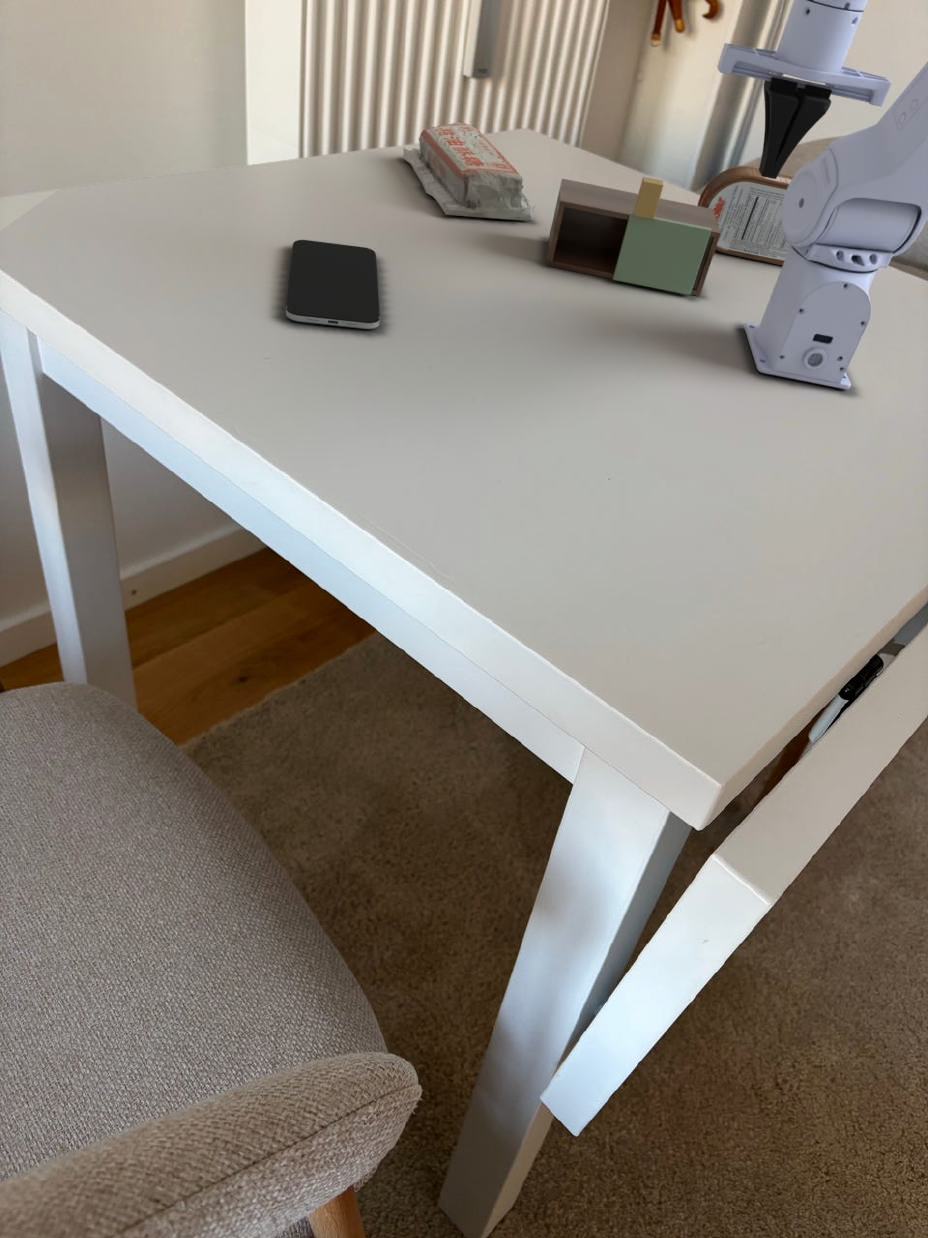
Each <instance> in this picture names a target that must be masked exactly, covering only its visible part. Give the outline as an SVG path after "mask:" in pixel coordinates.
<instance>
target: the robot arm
mask: <svg viewBox="0 0 928 1238" xmlns="http://www.w3.org/2000/svg"><path fill="white" fill-rule="evenodd" d="M868 1H869V0H793V1H792V5H791V7H790V10H789V13H788V16H787V18H786V21H785V25H784V28H783V31H782V34H781V37H780V40H779V42H778V45H777V48H776V50H771V49H765V48H764V49H763V48H758V47H751V46H746V45H745V46H744V45H738V44H733V43H728V42H725V43H724V44H723V47H722V50H721V53H720V57H719V60H718V63H717V66H716V67H717V70H718V72H719V73H721V74H726V75H733V74H734V75H738V76H743V77H747V78H752V79H757V80H761V81H764V82H763V97H764V134H763V144H762V153H761V159H760V163H759V167H758V168H759V172H760V174H761V176H763V177H768V178H772V179H776V178H777V176H778V174H779V173H781V170H782V168H783V167H784V165H785V164H786V162H787V161H788V159H789V157H790V156H791V155H792V152H794V150H795V149H796V147H797V146H798V145H799V144H800V142H801V141H802V140H803V138H805V136H806V135H807V134H808V133H809V131H810V130H811V129H812V128H813V127H814V126H816V124H817V123H818V122H819V120H821V119H822V118H823V117H824V116H825V115H826V113H828V111H829V109H830V107H831V105H832V100H831V99H830V98H831V96H835V97H840V98H841V97H842V98H846V99H851V100H855V101H860V102H864V103H868V104H869V105H871V106H875V107H880V108H882V107H883V106H884V103H885V101H886V98H887V95H888V93H889V91H890V89H891V87H892V84H893V82H892V81H891V80H890V79H888V77H887V76H881V75H878V74H873V73H869V72H866V71H862V70H858V69H854V68H851V67H849V66H848V67H847V66H844V63H845V61H846V58H847V55H848V53H849V50H850V48H851V46H852V44H853V40H854V38H855V35H856V33H857V30H858V27H859V25H860V22H861V20H862V17H863V14H864V11H865V10H866V6H867V4H868ZM784 75H786V76H784ZM789 76H790V77H789ZM793 176H794V177H793V179H792V180H791V182H790V184H789V186H788V188H787V190H786V193H785V196H784V200H783V204H782V212H781V221H782V227H783V231H784V234H785V240H786V241H787V242H788V243H789V244H790V245H791V246H790V248H789V251H788V253H787V256H786V258H785V261H784V264H783V265H781V266H782V267H781V269H780V272H779V274H778V277H777V279H776V281H775V284H774V287H773V289H772V292H771V294H770V297H769V300H768V301H767V302H768V303H767V304H766V308H765V310H764V312H763V315H762V317H761V320H760V323H756V322H749V321H747V322H745V324H744V327H743V328H744V331H745V334H746V338H747V340H748V344H749V347H750V351H751V353H752V357H753V360H754V364H755V365H756V366H755V367H756V369H757V371H758V372H760V373H762V374H766V375H770V376H771V375H772V376H776V377H780V378H781V377H782V378H786V379H791V380H792V379H793V380H796V381H802V382H807V383H811V384H817V385H822V386H828V387H831V388H832V387H833V388H836V389H837V388H838V389H841V390H849V389H851V386H852V383H851V381H850V378H849V376H848V374H847V370H848V367H849V365H850V364H851V361H852V359H853V357H854V356H855V353H856V351H857V349H858V347H859V344H860V342H861V340H862V338H863V336H864V334H865V331H866V329H867V327H868V325H869V322H870V320H871V316H872V302H871V298H870V297H871V296H870V288H871V285H872V283H873V281H874V279H875V277H876V275H877V272H878V270H879V269H887V268H888V267H889V266H890V265H889V264H890V263H891V261H892V258H893V257H896V256H900V255H901V254H903V253H905V252H906V251H907V250H908V249H910V247H911V246H912V245H913V244H914V242H916V240H917V238H918V237H919V236H920V234H921V232H922V230H923V228H924V226H925V223H926V222H927V220H928V61H927V62H925V64H924V66H922V68H921V69H920V70H919V71H918V72H917V74H916V75H915V76H914V78H913V79H911V81H910V82H909V83H908V85H907V86H906V87H905V88H904V89H903V91H902V92H901V93H900V95H899V96H898V97H897V98H896V99H895V101H894V102H893V103H892V104H891V106H890V107H889V108H888V109H887V110H886V112H885V113H884V114H883V115H882V117H881V118H880V119H879V120H878V122H877V123H875V124H873V125H870V126H868V127H866V128H863V129H860V130H858V131H855V132H852V133H848V134H847V135H843V136H841V137H839V138H836V139H834V140H832V141H830V142H829V143H828V145H827V146H826V147H825V149H824V150H823V151H822V152H821V153H820V154H819V155H818V156H817V157H814V158H813V159H811V160H808V161H807V162H806V163H804V164H803V165H802V166H801V167H800V168H799V170H798V171H797V172H796V173H795V174H794V175H793Z"/></svg>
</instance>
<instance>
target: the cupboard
mask: <svg viewBox="0 0 928 1238" xmlns="http://www.w3.org/2000/svg"><path fill="white" fill-rule="evenodd" d="M637 197H638V193H635V192H632V191H631V192H630V191H625V190H621V189H616V188H612V187H605V186H601V185H597V184H591V183H587V182H582V181H577V180H571V179H568V178H561V180H560V186H559V189H558V195H557V199H556V203H555V208H554V213H553V217H552V222H551V227H550V230H549V236H548V242H547V250H546V251H547V252H546V263H545V266H547V267H551V268H557V269H562V270H566V271H572V272H576V273H581V274H586V275H590V276H596V277H601V278H607V279H610V280H613V275H614V271H615V268H616V264H617V260H618V257H619V253H620V249H621V245H622V242H623V238H624V234H625V231H626V227H627V223H628V219H629V216H630V213H631V212H633V213H634V208H635V204H636V200H637ZM655 217H657V218H662V219H667V220H672V221H677V222H682V223H687V224H692V225H697V226H702V227H707V228H711V234H710V237H709V240H708V243H707V246H706V249H705V252H704V255H703V258H702V261H701V264H700V267H699V270H698V273H697V276H696V279H695V282H694V285H693V288H692V291H691V294H690V296H696V297H700V296H701V293H702V290H703V288H704V285H705V282H706V278H707V276H708V273H709V270H710V267H711V264H712V261H713V258H714V255H715V253H716V246H717V243H718V240H719V237H720V234H721V233H720V230H719V226H718V223H717V220H716V217H715V214H714V211H713V209H710V208H705V207H700V206H698V205H694V204H690V203H684V202H680V201H676V200H675V201H674V200H670V199H665V198H661V197H660V199H659V203H658V206H657V210H656V213H655Z"/></svg>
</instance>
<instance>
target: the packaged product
mask: <svg viewBox="0 0 928 1238" xmlns="http://www.w3.org/2000/svg"><path fill="white" fill-rule="evenodd" d="M418 141H419V148H416V147H413V148H412V149H411V150H409V149H406V148H405V147H403V148H402V151H403V152H402V153H403V160H405V161H406V162H407V163H409V165H410V166H411V167H412V169H413V171H414V173H415V174H416V176H417V177H418V179H419V180H420V182H421V184H422V187H423V189H424V191H425V194H428V195H429V196H432V198H434V200H435V201H436V202H437V203H438V205H439V206H440V208H441V210H442V211H443V212H444V214H445V215H446V216H460V217H473V218H484V219H485V218H487V219H499V220H513V221H526V222H527V221H529V222H532V221H533V218H534V214H535V213H534V212H535V209H536V206H535V205H533V204H532V202H531V201H530V200H529V199H528V198H527V196H526V195H524V193H523V191H522V190H523V189H524V186H523V175H521V174H520V173H519V172H518V170H517V169H516V168H515V167H514V166H513V165H512V164H511V162H509V160H508V159H506V158H505V156H504V155H503V154H502V153H501V152H500V151H499V150H498V149H497V148H496V146H494V144H492V142H491V141H489V139H487V138H486V137H485V135H484V134H483V133H482V132H481V131H480V130H479V128H476V127H474V126H472V125H470V124H469V123H466V122H463V121H462V122H458V121H457V122H453V123H449V124H448V123H447V124H440V125H437V126H432V127H428V128H425V129H422V131H421V133H420V135H419V137H418Z"/></svg>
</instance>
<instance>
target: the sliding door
mask: <svg viewBox="0 0 928 1238" xmlns="http://www.w3.org/2000/svg"><path fill="white" fill-rule="evenodd" d="M663 189H664V181H663V180H661V179H658V178H657V179H656V178H651V177H646V176H643V177H642V179H641V182H640V186H639V189H638V193H637V194H638V197H637V200H636V204H635V208H634V213H633V212H631V213H630V216H629V219H628V223H627V227H626V231H625V234H624V238H623V242H622V245H621V249H620V253H619V257H618V260H617V264H616V268H615V271H614V275H613V279H612V280H613V281H618V282H622V283H627V284H632V285H638V286H641V287H642V286H643V287H648V288H652V289H657V290H662V291H668V292H672V293H678V294H683V295H688V296H691V291H692V288H693V285H694V282H695V279H696V276H697V273H698V270H699V267H700V264H701V261H702V258H703V255H704V252H705V249H706V246H707V243H708V240H709V237H710V234H711V228H707V227H702V226H697V225H692V224H687V223H682V222H677V221H672V220H667V219H662V218H657V217H655V213H656V210H657V206H658V203H659V199H660V198H661V196H662V193H663Z"/></svg>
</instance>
